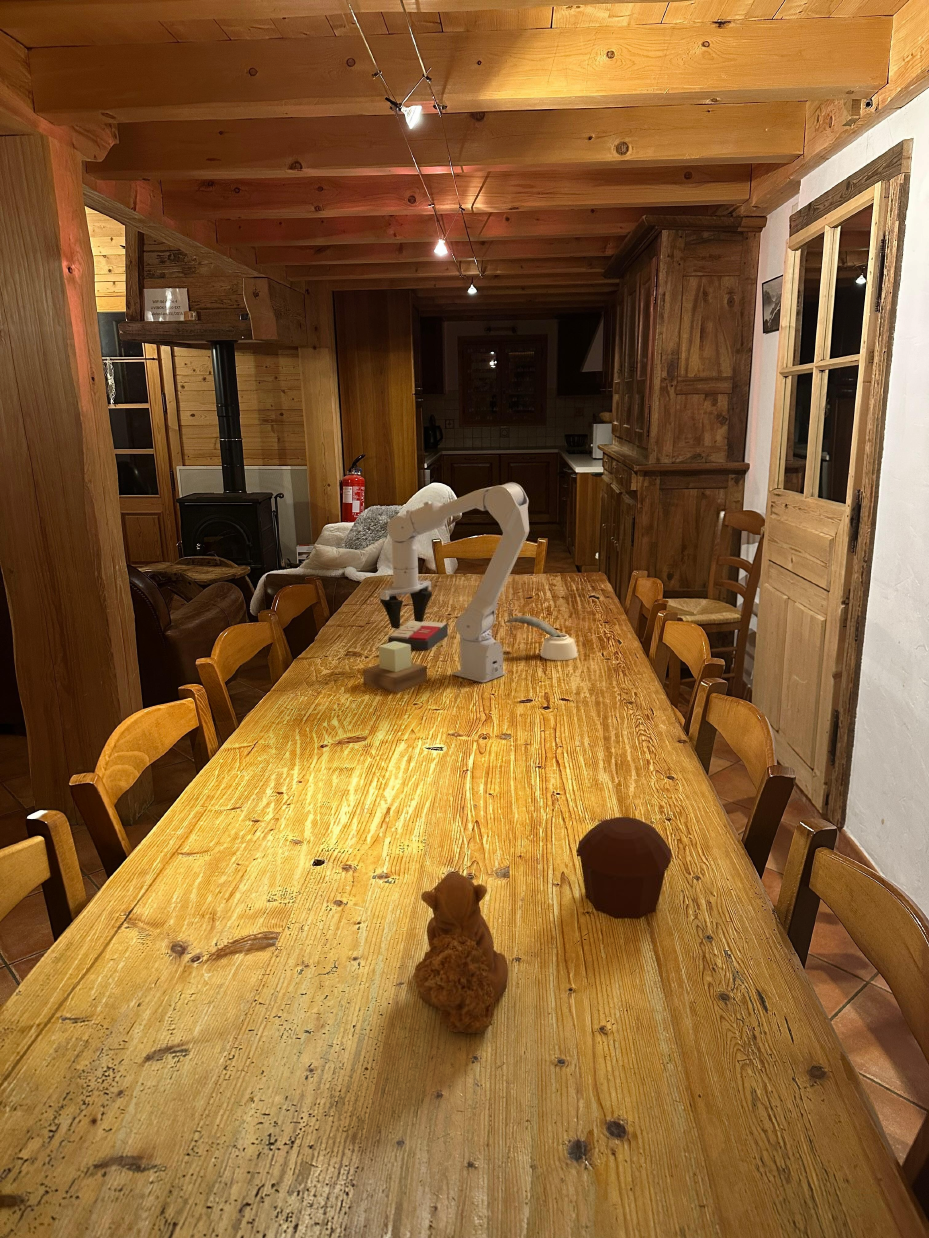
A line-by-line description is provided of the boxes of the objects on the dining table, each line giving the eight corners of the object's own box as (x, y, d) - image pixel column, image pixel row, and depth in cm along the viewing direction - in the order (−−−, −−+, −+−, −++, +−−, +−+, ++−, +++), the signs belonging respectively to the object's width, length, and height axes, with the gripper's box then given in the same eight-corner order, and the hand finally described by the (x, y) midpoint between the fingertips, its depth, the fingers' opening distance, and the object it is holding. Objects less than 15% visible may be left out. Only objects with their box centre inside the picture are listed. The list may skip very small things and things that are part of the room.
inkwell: (580, 660, 201) (581, 620, 198) (505, 661, 201) (505, 621, 198) (575, 649, 210) (576, 611, 207) (503, 650, 210) (503, 612, 207)
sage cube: (411, 666, 186) (410, 644, 185) (395, 671, 182) (394, 649, 181) (395, 662, 189) (394, 641, 188) (379, 667, 185) (378, 646, 184)
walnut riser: (427, 683, 187) (426, 666, 186) (396, 695, 179) (396, 677, 178) (394, 675, 193) (393, 658, 192) (363, 686, 185) (362, 669, 184)
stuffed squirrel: (506, 959, 93) (506, 852, 89) (516, 1054, 79) (516, 932, 76) (416, 961, 92) (412, 854, 89) (410, 1057, 79) (405, 934, 76)
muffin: (607, 864, 111) (609, 795, 109) (685, 893, 104) (689, 820, 102) (558, 904, 102) (559, 830, 100) (639, 939, 96) (642, 860, 93)
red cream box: (387, 635, 213) (409, 618, 227) (388, 651, 215) (410, 633, 228) (427, 638, 210) (447, 621, 223) (428, 654, 211) (448, 636, 225)
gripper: (415, 560, 199) (417, 616, 203) (369, 569, 189) (372, 628, 192) (437, 564, 195) (438, 620, 198) (391, 573, 184) (393, 633, 188)
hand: (407, 624), depth 195 cm, fingers open, 7 cm apart
